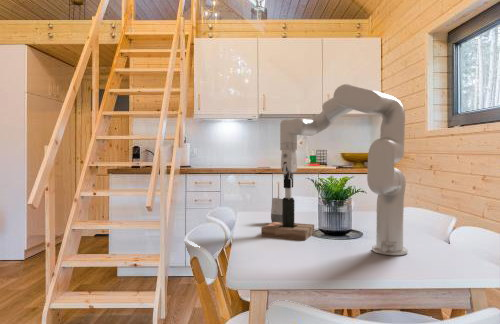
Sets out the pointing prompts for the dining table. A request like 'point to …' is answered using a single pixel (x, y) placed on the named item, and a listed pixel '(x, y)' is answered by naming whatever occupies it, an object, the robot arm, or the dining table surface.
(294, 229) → the holder
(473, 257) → the dining table surface
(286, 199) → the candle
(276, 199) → the smart speaker
